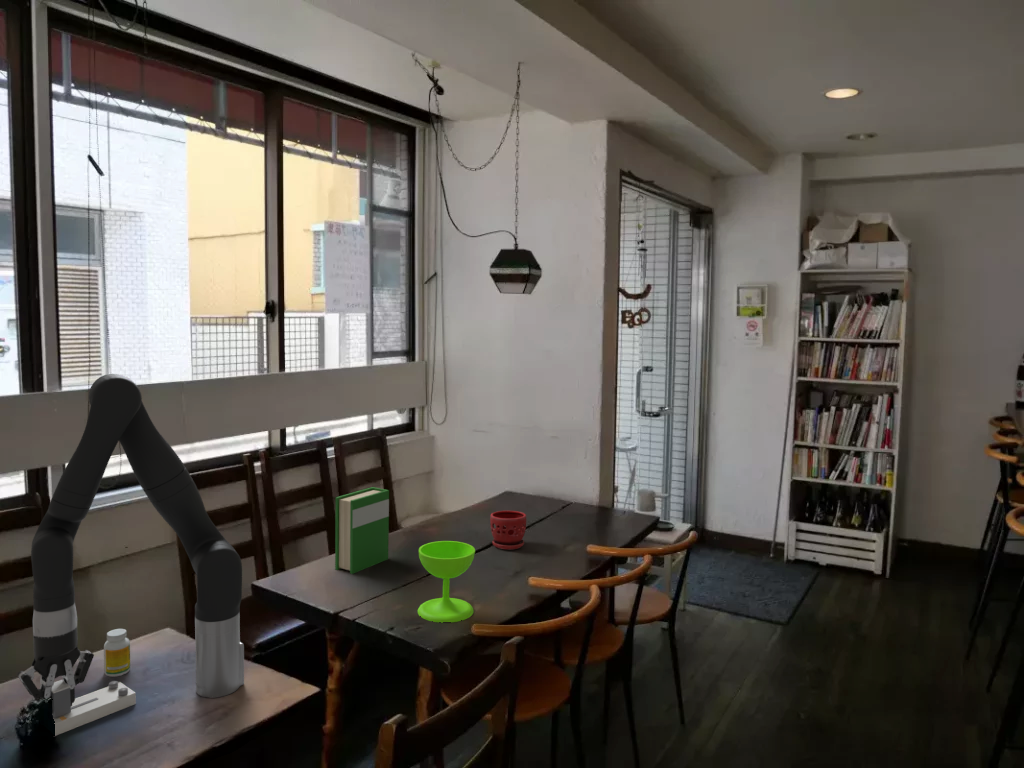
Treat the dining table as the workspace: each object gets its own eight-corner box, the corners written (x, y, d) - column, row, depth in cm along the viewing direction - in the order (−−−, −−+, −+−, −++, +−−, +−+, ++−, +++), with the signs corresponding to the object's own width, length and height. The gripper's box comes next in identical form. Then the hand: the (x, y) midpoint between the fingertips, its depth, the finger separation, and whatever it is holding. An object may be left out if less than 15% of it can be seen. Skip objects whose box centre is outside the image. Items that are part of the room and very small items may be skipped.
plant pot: (532, 544, 276) (533, 513, 274) (513, 554, 265) (514, 521, 263) (502, 538, 283) (503, 507, 281) (482, 547, 271) (483, 514, 270)
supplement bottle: (101, 671, 174) (99, 631, 173) (125, 664, 178) (124, 625, 177) (109, 679, 170) (108, 639, 169) (134, 672, 174) (133, 632, 173)
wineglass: (484, 608, 217) (486, 547, 215) (452, 627, 203) (453, 563, 201) (439, 596, 225) (440, 537, 223) (405, 613, 211) (406, 551, 209)
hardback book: (352, 574, 241) (352, 501, 238) (335, 569, 245) (335, 497, 242) (388, 559, 256) (389, 490, 253) (371, 554, 260) (372, 487, 257)
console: (120, 692, 165) (119, 677, 164) (135, 703, 160) (135, 688, 160) (39, 723, 152) (39, 707, 152) (54, 736, 148) (53, 719, 148)
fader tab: (62, 705, 154) (61, 679, 153) (70, 712, 151) (70, 686, 151) (46, 711, 152) (45, 685, 151) (54, 718, 149) (53, 692, 148)
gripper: (84, 611, 157) (86, 689, 159) (7, 633, 146) (11, 717, 148) (100, 621, 153) (103, 701, 155) (23, 644, 142) (26, 731, 144)
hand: (58, 708), depth 151 cm, fingers closed on fader tab, 3 cm apart
